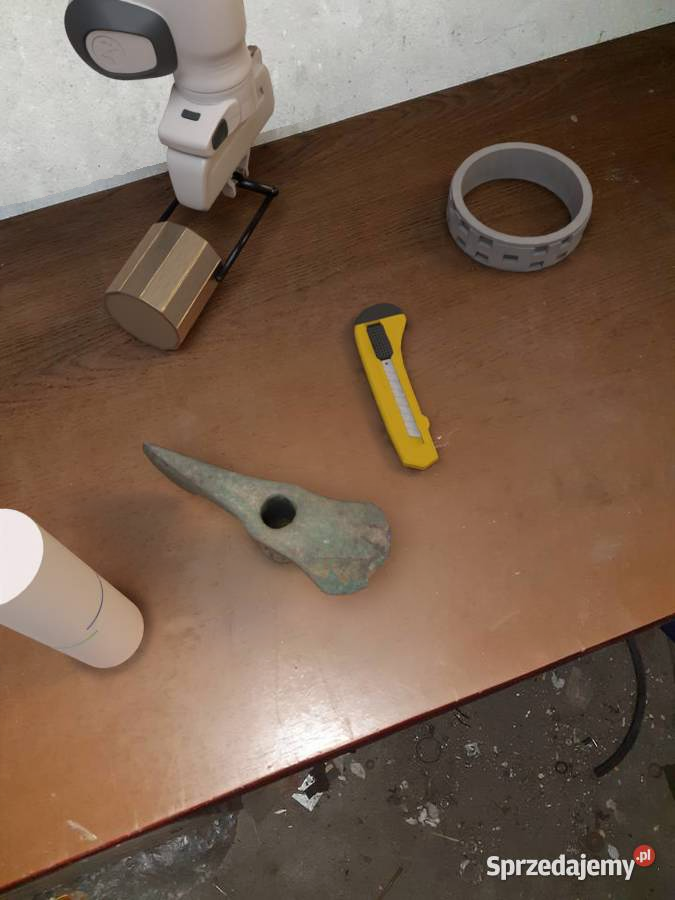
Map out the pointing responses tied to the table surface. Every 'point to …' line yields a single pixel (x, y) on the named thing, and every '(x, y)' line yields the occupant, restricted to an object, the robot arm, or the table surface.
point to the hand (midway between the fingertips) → (236, 186)
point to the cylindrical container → (62, 597)
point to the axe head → (291, 521)
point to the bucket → (173, 277)
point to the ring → (529, 166)
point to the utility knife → (393, 384)
